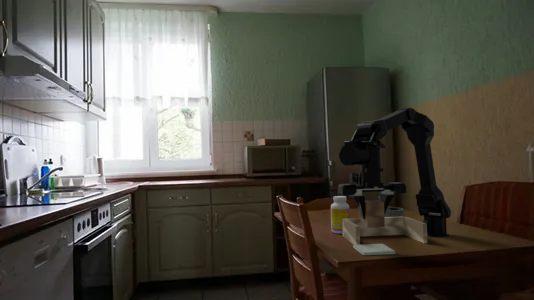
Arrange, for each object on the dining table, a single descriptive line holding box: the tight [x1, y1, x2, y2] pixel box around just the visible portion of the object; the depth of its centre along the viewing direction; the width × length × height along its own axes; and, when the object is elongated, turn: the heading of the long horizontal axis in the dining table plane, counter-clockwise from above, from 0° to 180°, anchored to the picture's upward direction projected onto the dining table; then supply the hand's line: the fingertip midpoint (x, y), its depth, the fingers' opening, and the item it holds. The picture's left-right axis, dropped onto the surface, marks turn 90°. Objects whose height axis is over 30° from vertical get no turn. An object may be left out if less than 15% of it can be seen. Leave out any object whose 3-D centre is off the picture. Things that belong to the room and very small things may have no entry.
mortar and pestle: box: [378, 195, 404, 217], centre depth 142 cm, size 11×9×12 cm
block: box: [360, 199, 385, 228], centre depth 107 cm, size 5×5×7 cm
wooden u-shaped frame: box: [342, 215, 428, 245], centre depth 120 cm, size 22×14×6 cm, turn 94°
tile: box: [352, 243, 396, 256], centre depth 107 cm, size 9×9×1 cm
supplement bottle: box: [330, 195, 351, 235], centre depth 133 cm, size 7×7×13 cm
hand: (372, 218), depth 107 cm, fingers closed on block, 5 cm apart
